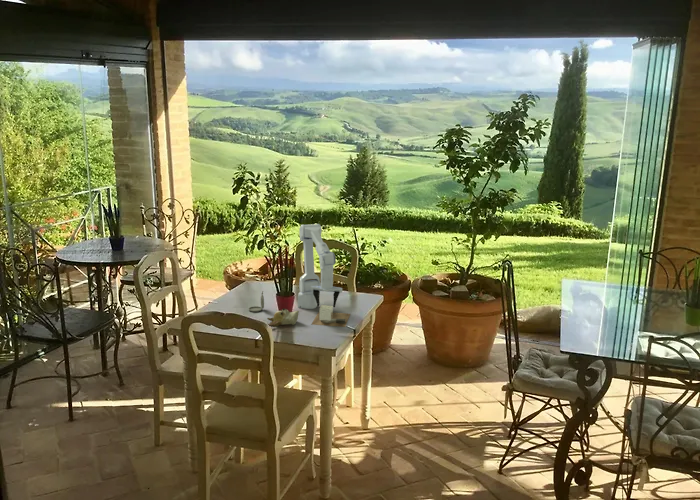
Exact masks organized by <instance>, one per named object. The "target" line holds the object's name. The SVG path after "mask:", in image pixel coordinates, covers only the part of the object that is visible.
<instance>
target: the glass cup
mask: <svg viewBox="0 0 700 500" xmlns="http://www.w3.org/2000/svg"><path fill="white" fill-rule="evenodd" d="M264 308H265V299H264V290H262V292H261V296H260V306H255V305H254V306H250V307H248V311H249V312H254V313H257V312H260V311H263V309H264Z"/></svg>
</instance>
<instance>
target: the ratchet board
mask: <svg viewBox="0 0 700 500" xmlns="http://www.w3.org/2000/svg"><path fill="white" fill-rule="evenodd" d="M319 315H320V310H319V311H318V312H317V314H316V315H315V317H314V318H313V321H312V322H311V325H312V326H313V325H314V326H324V327H325V326H328V327H339V328H340V327H341V328H346V326H347V324H348V321H349V320H350V319H349V318H350V316H351V313H345V312H333V317H332V319H331V321H328V320H319Z"/></svg>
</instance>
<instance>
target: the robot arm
mask: <svg viewBox="0 0 700 500" xmlns="http://www.w3.org/2000/svg"><path fill="white" fill-rule="evenodd" d="M298 229H299V231H298V233H299V240H300V241H301V242H302V245H303V264H304V273H303V275H301V276H300V277H299V283H298V287H299V292H298V293H297V294H298V295H297V308H299V309H307V310H312V309H316V308H317V307H319V306H320V304H321V303H320V295H321V294H320V293H321V292H329V293H333V302H332V303H333V304H332V306H333V308H335V307H336V305H337V300H338V298H339V295H340V294H342V293H343V287H339V286H338V287H337V286H333V285H334V265H336V262H337V260H336V255H335V253H334V252H333V251H331V250H330V248H329V246H328V245H327V242H324V240H323V238H322V232H323V230H322V226H321V224H320V223H312V224H311V223H310V224H301V225H300V226H299V228H298ZM314 244H315V251H316V253H317V255H318V261H319V268H320V276H319V275H317V274H316V273H315V259H314V255H315V254H314Z"/></svg>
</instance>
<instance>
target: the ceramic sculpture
mask: <svg viewBox="0 0 700 500" xmlns="http://www.w3.org/2000/svg"><path fill="white" fill-rule="evenodd" d="M299 312H300V311H299V310H296V311H295V310H294V311H289V310H288V309H287V308H283V307H282V309H281V310H276V312H274V314H273V317H267V318H266V319H267V320H268V321H270V323H268V325H269V326H268V327H271V328H273V327H278V326H281V325H283V326H284V325H293V326H294V325H296V323H297V322H298V319H299V314H300V313H299Z"/></svg>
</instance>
